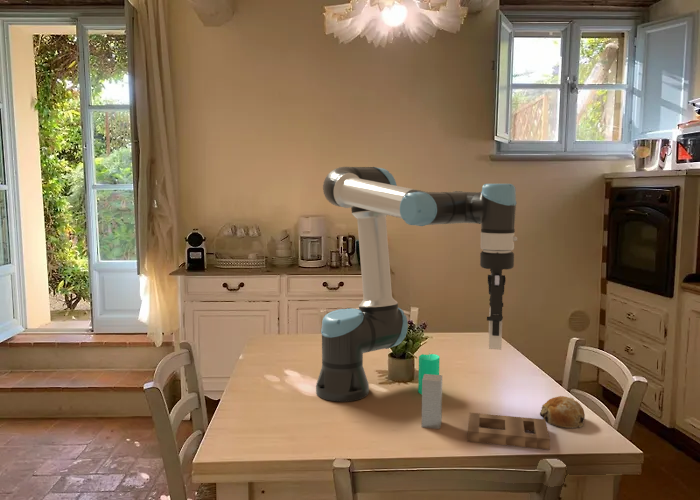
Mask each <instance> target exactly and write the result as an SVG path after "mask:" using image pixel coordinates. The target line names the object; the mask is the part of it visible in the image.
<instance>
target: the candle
mask: <svg viewBox="0 0 700 500" xmlns="http://www.w3.org/2000/svg"><path fill="white" fill-rule="evenodd" d="M440 358H441V357H440V356H439V355H438V354H435V353H431V352H430V350H429V351H428V354H424V353H422V354H420V355H419V356H418V381H417V382H418V384H417V385H418V387H417V389H418V390H417V391H418V392H417V393H419V394H420V395H422V379H423V376H424V374H431V375H440Z"/></svg>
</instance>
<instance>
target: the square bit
mask: <svg viewBox="0 0 700 500" xmlns="http://www.w3.org/2000/svg"><path fill="white" fill-rule="evenodd" d="M442 412H443V374H441V375H440V374H439V375H431V374H424V376H423V379H422V394H421V428H426V429H437V430H441V426H442V419H443V417H442V416H443V415H442Z"/></svg>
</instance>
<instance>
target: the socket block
mask: <svg viewBox="0 0 700 500" xmlns="http://www.w3.org/2000/svg"><path fill="white" fill-rule="evenodd" d="M528 432H533V433H528ZM467 442H471V443H479V444H480V443H481V444H488V445H489V444H491V445H499V446H502V445H503V446H509V447H520V448H528V449H529V448H530V449H539V450H540V449H541V450H547V451H550V448H551V445H550V444H551V438H550V433H549V429H548V426H547V422H546V421H545V419H544V418H533V417H532V418H531V417H522V416H521V417H520V416H513V415H512V416H511V415H501V414H500V415H499V414H489V413H480V412H469V413H468V427H467Z"/></svg>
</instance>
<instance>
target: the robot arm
mask: <svg viewBox="0 0 700 500" xmlns="http://www.w3.org/2000/svg"><path fill="white" fill-rule="evenodd" d="M322 191H323V195H324V197H325V199H326V200H327V201H328V202H329V203H330V204H331V205H333V206H335V207H338V208H339V207H340V208H345V209H350V208H351V215H352V216H354V218H355V219H356V220H357V232H358V233H357V234H358V244H359V245H358V246H359V247H358V248H359V258H360V270H361V271H360V272H361V283H362V295H363V299H362V301H361V302H360V303H359V304H358V308H351V307H350V308H339V309H336V310H332V311H329V312H328V313H326V314H325V315H324V316H323V317H322V319H321V320H322V321H321V330H320V332H321V369H320V372H319V375H318V378H317V381H316V384H315V385H316V386H315V387H316V388H315V394H316V396H317V397H319V398H321V399H324V400H327V401H331V402H341V403H342V402H354V401H358V400H361V399H364V398H365V397H367V396H368V395H369V392H370V384H369V382H368V378H367V375H366V371H365V369H364V365H363V364H364V354H365V353H370V352H375V351H379V350H385V349H386V350H387V349H391V348H394V347H396V346H399V345H400V344H402V342H403V341H404V340H405V339H406V335H407V333H408V329H409V328H408V327H409V326H408V325H409V324H408V323H409V322H408V317H407V315H406V314H405V312H404V310H403V309H402V308H400V307H399V302H398V301H397V300H396V299H394V297H393V291H392V289H393V288H392V278H391V276H392V275H391V267H390V266H391V265H390V252H389V251H390V250H389V238H388V229H387V228H388V226H387V225H388V224H387V216H391V217H395V218H399V219H400V220H401V219H402V220H403V221H404V223H405V224H407V225H409V226H416V227H418V226H419V227H423V226H433V225H448V224H449V225H451V224H454V225H455V224H478V225H480V245H479V246H480V249H481V250H482V251H481V252H480V256H479V257H480V258H479V259H480V261H479V262H480V263H479V265H480V267H481V268H482V269H487V270H489V271H490V274H487V285H488V294H489V308H488V309H489V310H488V311H489V313H488V316H486V321H488V350H501V351H502V342H503V341H502V340H503V319H504V316H503V307H504V302H503V296H504V294H505V285H506V280H507V279H506V275H504V274H503V270H511V269H513V268H514V266H515V253H514V252H513V250H514V249H515V242H516V241H517V242H518V237H517V236H515V235H516V234H515V231H516V230H515V227H516V225H515V223H516V222H515V221H516V211H517V194H516V187H515V185H514V184H512V183H484V184H483V185H482V187H481V191H480V192H478V191H477V192H476V191H457V190H456V191H441V192H439V191H436V192H435V191H434V192H433V191H426V190H425V191H424V190H421V189H420V190H419V189H415V188H410V187H405V186H399V185H397V182H396V179H395V177H394V175H393V174H392V173H391V172H390V171H389V170H388V169H386V168H383V167H376V166H339V167H336V168H334V169H332V170H331V171H330V172H329V173H328V174H327V175H326V176H325V178H324V179H323V185H322Z"/></svg>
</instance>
